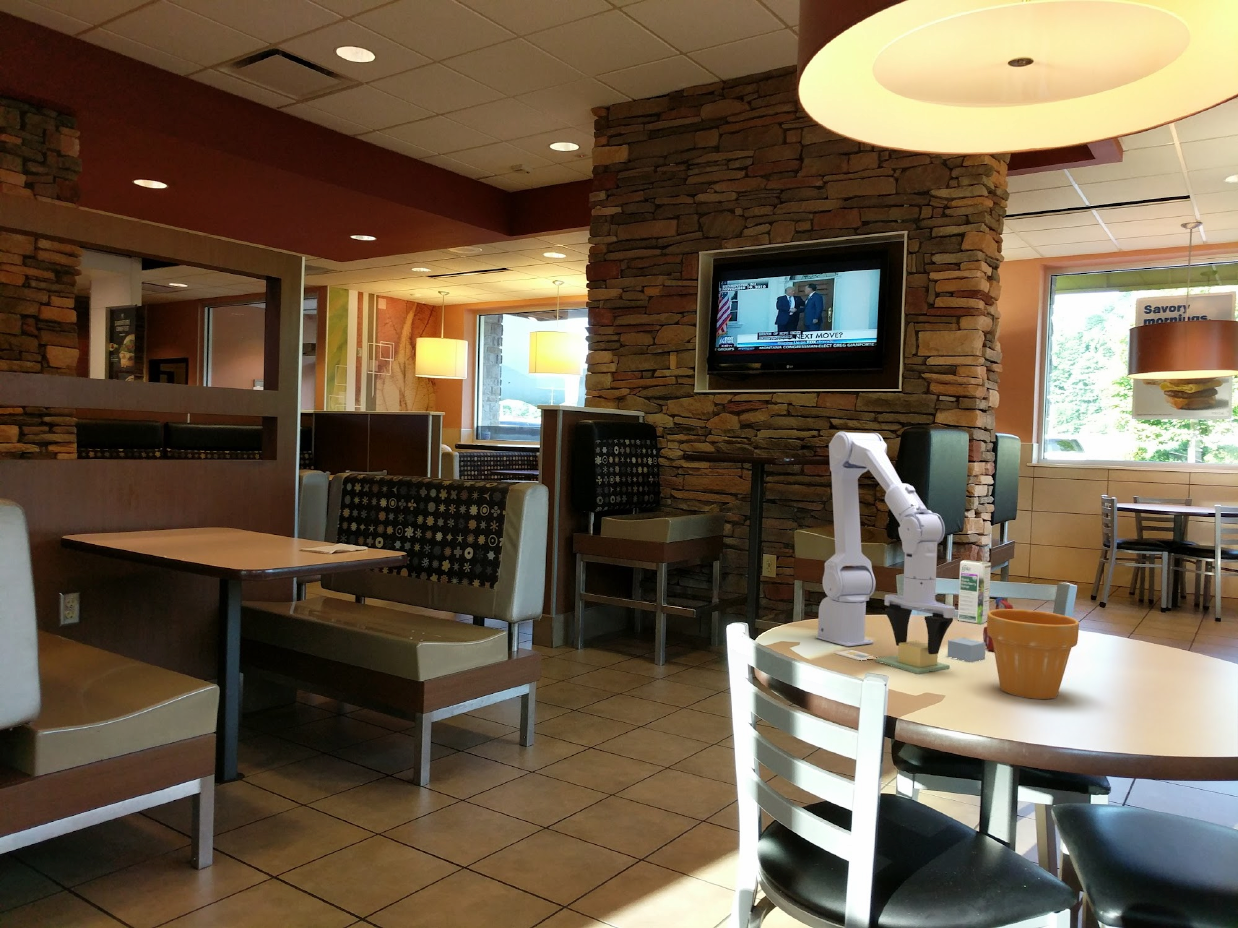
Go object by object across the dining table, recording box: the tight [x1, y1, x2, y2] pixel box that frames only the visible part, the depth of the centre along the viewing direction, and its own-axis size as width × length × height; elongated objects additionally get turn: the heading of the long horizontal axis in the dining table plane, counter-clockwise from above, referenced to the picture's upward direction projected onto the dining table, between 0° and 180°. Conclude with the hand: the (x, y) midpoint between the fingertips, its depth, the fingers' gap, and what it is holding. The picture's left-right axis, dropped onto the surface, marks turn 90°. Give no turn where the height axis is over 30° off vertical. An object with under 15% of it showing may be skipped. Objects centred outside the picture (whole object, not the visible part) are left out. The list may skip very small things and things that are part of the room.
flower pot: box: [986, 608, 1080, 700], centre depth 152 cm, size 14×14×13 cm
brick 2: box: [947, 637, 986, 663], centre depth 176 cm, size 5×5×4 cm
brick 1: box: [897, 640, 939, 667], centre depth 168 cm, size 5×5×4 cm
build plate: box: [874, 655, 951, 675], centre depth 169 cm, size 10×9×1 cm
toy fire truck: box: [982, 596, 1014, 652], centre depth 186 cm, size 7×12×10 cm, turn 165°
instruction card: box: [834, 649, 874, 662], centre depth 175 cm, size 7×5×1 cm
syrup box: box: [957, 559, 992, 625], centre depth 216 cm, size 6×6×14 cm
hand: (916, 649), depth 168 cm, fingers open, 7 cm apart
